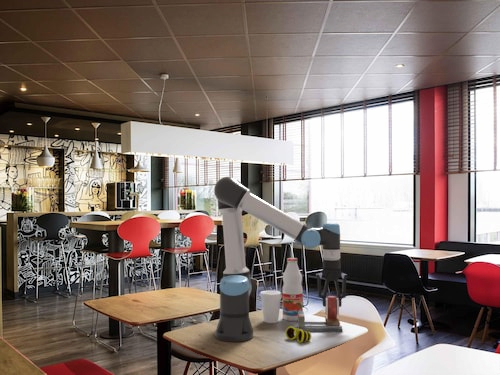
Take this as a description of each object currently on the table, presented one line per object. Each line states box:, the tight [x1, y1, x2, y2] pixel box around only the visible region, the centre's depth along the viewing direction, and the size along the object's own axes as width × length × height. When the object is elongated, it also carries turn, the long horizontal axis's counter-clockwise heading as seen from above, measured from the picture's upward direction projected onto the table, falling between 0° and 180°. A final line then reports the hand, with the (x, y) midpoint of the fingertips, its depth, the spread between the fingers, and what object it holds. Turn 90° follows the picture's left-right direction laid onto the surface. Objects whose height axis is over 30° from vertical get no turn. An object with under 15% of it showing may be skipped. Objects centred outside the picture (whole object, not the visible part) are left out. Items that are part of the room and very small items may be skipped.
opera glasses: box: [285, 326, 312, 344], centre depth 166 cm, size 10×5×5 cm, turn 39°
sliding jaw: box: [324, 295, 340, 326], centre depth 182 cm, size 5×8×11 cm, turn 176°
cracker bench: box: [297, 311, 343, 333], centre depth 182 cm, size 18×10×6 cm, turn 86°
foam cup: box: [260, 290, 282, 324], centre depth 195 cm, size 10×9×13 cm
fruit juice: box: [281, 257, 304, 322], centre depth 200 cm, size 9×9×28 cm
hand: (332, 314), depth 182 cm, fingers closed on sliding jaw, 4 cm apart
